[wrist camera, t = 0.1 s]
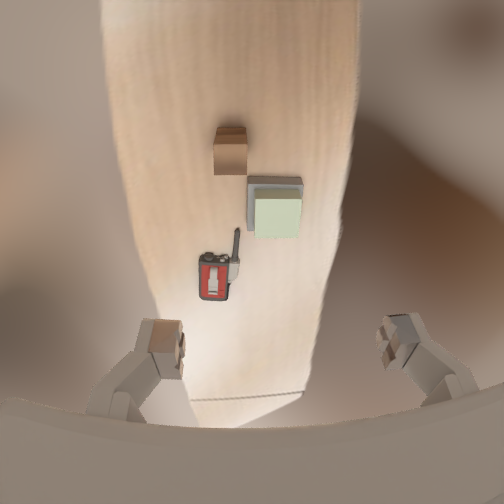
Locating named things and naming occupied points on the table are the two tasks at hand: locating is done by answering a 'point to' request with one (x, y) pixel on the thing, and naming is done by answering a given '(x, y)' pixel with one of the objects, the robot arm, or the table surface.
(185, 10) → the table surface
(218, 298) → the walkie-talkie
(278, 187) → the tower base block
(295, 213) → the tower top block
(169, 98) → the table surface
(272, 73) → the table surface
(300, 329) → the table surface
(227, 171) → the walnut pillar
